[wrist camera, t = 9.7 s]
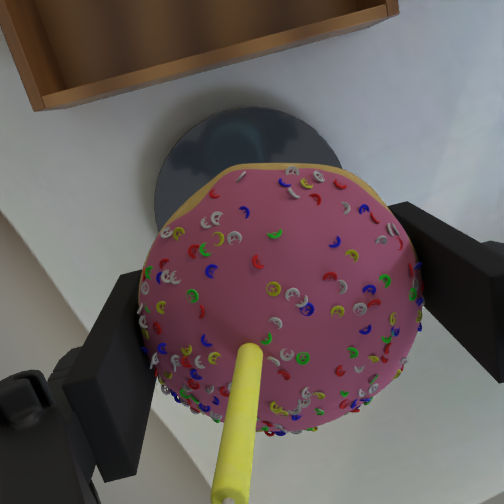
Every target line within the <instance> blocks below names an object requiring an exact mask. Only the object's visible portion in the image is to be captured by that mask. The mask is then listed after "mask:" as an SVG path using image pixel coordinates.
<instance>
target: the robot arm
mask: <svg viewBox="0 0 504 504" xmlns="http://www.w3.org/2000/svg"><path fill="white" fill-rule="evenodd" d="M387 207H388V208H389V210H390V211H391V212H392V214H393V215H394V216H395V218H396V219H397V220H398V221H399V223H400V224H401V226H402V227H403V229H404V230H405V232H406V234H407V235H408V237H409V239H410V240H411V242H412V244H413V246H414V248H415V250H416V253H417V256H418V259H419V262H422V266H421V275H422V280H423V282H424V291H422V295H423V297H424V299H425V305H423V306H424V307H425V308H426V309H427V310H428V311H429V312H430V313H431V314H432V315H433V316H434V317H435V318H436V319H437V320H438V321H439V322H440V323H441V324H442V325H443V326H444V327H445V328H446V329H447V330H448V331H449V332H450V333H451V335H452V336H453V337H454V338H455V339H456V340H457V341H458V342H459V343H460V344H461V345H462V346H463V347H464V348H465V349H466V350H467V351H468V352H469V353H470V354H471V355H472V356H473V357H474V358H475V359H476V360H477V361H478V362H479V363H480V364H481V365H482V366H483V367H484V369H485V370H486V371H487V372H488V373H489V374H490V375H491V376H492V377H493V378H494V379H495V380H496V381H497V382H498V383H499V384H500V383H504V243H499V242H494V241H487V242H483V243H480V242H478V241H476V240H475V239H473V238H471V237H469V236H468V235H466V234H464V233H462V232H461V231H459V230H457V229H455V228H453V227H452V226H450V225H448V224H446V223H445V222H443V221H441V220H439V219H438V218H436V217H434V216H432V215H431V214H429V213H427V212H425V211H424V210H422V209H420V208H418V207H417V206H415V205H413V204H411V203H409V202H408V201H406V202H402V203H398V204H395V205H391V206H387ZM141 273H142V269H141V270H137V271H134V272H130V273H126V274H122V275H120V277H119V278H118V280H117V282H116V284H115V286H114V288H113V290H112V292H111V294H110V295H109V297H108V299H107V301H106V303H105V305H104V307H103V309H102V310H101V312H100V314H99V316H98V318H97V320H96V322H95V324H94V325H93V327H92V329H91V331H90V333H89V335H88V337H87V339H86V341H85V342H84V344H83V346H81V347H77V348H73V349H71V350H70V351H69V352H68V353H67V354H66V355H65V356H63V357H62V358H61V359H60V360H59V362H58V363H57V365H56V367H55V368H54V370H53V373H51V375H50V377H49V379H48V382H46V380H45V377H44V375H43V374H42V373H41V371H39V370H28V371H22V372H20V373H17V374H14V375H11V376H9V377H7V378H5V379H3V380H1V381H0V504H101V502H100V499H99V496H98V493H97V491H96V489H95V486H94V484H93V482H92V480H91V478H92V475H93V472H94V469H95V465H97V467H98V469H99V472H100V474H101V476H102V478H103V480H104V483H106V482H110V481H114V480H118V479H122V478H126V477H130V476H134V475H136V473H137V468H138V464H139V459H140V454H141V449H142V444H143V440H144V435H145V430H146V425H147V421H148V416H149V411H150V407H151V402H152V397H153V393H154V388H155V383H156V378H157V376H156V377H155V376H154V369H153V367H152V369H150V364H151V363H150V361H149V358H148V355H146V354H145V353H143V352H142V349H141V347H145V345H144V341H143V337H142V332H141V327H140V324H139V319H140V315H139V314H137V311H138V308H139V284H140V278H141ZM144 351H145V350H144ZM145 352H146V351H145Z"/></svg>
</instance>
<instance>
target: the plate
mask: <svg viewBox="0 0 504 504" xmlns="http://www.w3.org/2000/svg"><path fill="white" fill-rule="evenodd" d="M250 163H305V164H320V165H328V166H333V167H337V168H340V169H342V167H341V165H340V162H339V160H338V158H337V156H336V155H335V153H334V151H333V149H332V148H331V147H330V145H329V144H328V143H327V142H326V140H325V139H324V138H323V137H322V136H321V135H320V134H319V133H318V132H317V131H316V130H315V129H313V128H312V127H310V126H309V125H308V124H306V123H305V122H303V121H301V120H300V119H298V118H296V117H294V116H292V115H289V114H286V113H284V112H281V111H277V110H273V109H268V108H259V107H245V108H236V109H231V110H227V111H224V112H221V113H218V114H215V115H213V116H211V117H209V118H207V119H205V120H203V121H201V122H200V123H198V124H197V125H195V126H194V127H192V128H191V129H190V130H189V131H188V132H187V133H186V134H185V135H183V136H182V137H181V139H180V140H179V141H178V142H177V143H176V145H175V146H174V147H173V148H172V150H171V151H170V153H169V155H168V156H167V158H166V159H165V162H164V164H163V166H162V168H161V171H160V174H159V177H158V180H157V184H156V191H155V206H154V209H155V218H156V223H157V227H158V231H159V232H160V231H161V229H162V228H163V226H164V225H165V224H166V222H167V221H168V220H169V219H170V218H171V216H172V215H173V214H174V213H175V212H176V211H177V210H178V209H179V208H180V207H181V206H182V205H183V204H184V203H185V202H186V201H187V200H188V199H189V198H190V197H191V196H192V195H193V194H195V193H196V192H197V191H198V190H200V189H201V188H202V187H203V186H205V185H206V184H207V183H209V182H210V181H211V180H212V179H213V178H215V177H216V176H217V175H218V174H220V173H221V172H222V171H224V170H226V169H227V168H229V167H231V166H235V165H239V164H250Z"/></svg>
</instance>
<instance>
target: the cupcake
mask: <svg viewBox="0 0 504 504" xmlns="http://www.w3.org/2000/svg"><path fill="white" fill-rule="evenodd" d="M421 266H422V262H419V259H418V256H417V253H416V250H415V248H414V246H413V244H412V242H411V240H410V239H409V237H408V235H407V234H406V232H405V230H404V229H403V227H402V226H401V224H400V223H399V221H398V220H397V219H396V218H395V216H394V215H393V214H392V212H391V211H390V210H389V208H388V207H387V206H386V204H385V203H384V202H383V201H382V199H381V198H380V197H379V195H378V194H377V193H376V192H375V191H374V190H373V189H372V188H371V187H370V186H369V185H368V184H367V183H365V182H364V181H363V180H362V179H360V178H359V177H357V176H356V175H354V174H352V173H350V172H348V171H346V170H343V169H340V168H337V167H333V166H328V165H320V164H305V163H250V164H239V165H235V166H231V167H229V168H227V169H226V170H224V171H222V172H221V173H220V174H218V175H217V176H216V177H215V178H213V179H212V180H211V181H210V182H209V183H207V184H206V185H205V186H203V187H202V188H201V189H200V190H198V191H197V192H196V193H195V194H193V195H192V196H191V197H190V198H189V199H188V200H187V201H186V202H185V203H184V204H183V205H182V206H181V207H180V208H179V209H178V210H177V211H176V212H175V213H174V214H173V215H172V216H171V218H170V219H169V220H168V221H167V222H166V224H165V225H164V226H163V228H162V229H161V231H160V232H159V234H158V235H157V237H156V239H155V241H154V243H153V245H152V247H151V249H150V251H149V253H148V255H147V258H146V261H145V263H144V266H143V270H142V273H141V278H140V284H139V308H138V311H137V314H139V315H140V319H139V324H140V327H141V332H142V337H143V341H144V345H145V347H141V349H142V352H143V353H145V354H146V355H148V358H149V361H150V363H151V364H150V369H152V367H153V369H154V376H155V377H156V376H158V380H159V382H160V384H162V386H161V389H162V392H163V393H164V394H165V395H168V394H169V393H170V392H171V395H172V396H174V399H175V401H176V402H178V403H182V404H183V405H184V406H186V407H189V406H190V410H191V412H192V413H193V414H199V413H200V412H201V413H202V414H203V415H204V414H205V415H207V416H209V417H211V418H212V419H213V420H214V421H215V422H216V423H219V422H220V421H221V422H223V423H224V427H223V432H222V437H221V443H220V448H219V453H218V458H217V464H216V469H215V474H214V479H213V485H212V490H211V503H212V504H248V500H249V491H250V481H251V471H252V461H253V451H254V441H255V431H256V432H263V431H264V432H265V434H266V435H268V436H273V435H274V434H276V435H278V436H283V435H285V434H286V433H288V432H287V431H291V433H293V434H300V433H301V432H302V430H308V431H317V429H318V428H317V426H319V425H322V424H325V423H327V422H330V421H332V420H335V419H337V418H339V417H341V416H343V415H346V414H348V413H349V412H359V411H360V410H359V409H357V408H359V407H360V406H361V404H363V403H364V405H368V404H369V403H370V402H371V400H372V399H373V396H374V395H376V394H377V393H378V392H380V391H381V390H382V389H383V388H385V387H386V386H387V385H388V384H389V383H390V382H391V381H392V380H393V379H395V378H397V377H398V376H399V375H400V374H401V371H403V367H404V364H405V363H406V362H407V361H408V359H407V358H406V357H407V355H408V353H409V351H410V349H411V346H412V344H413V342H414V339H415V337H416V334H417V331H421V330H422V325H421V322H420V321H421V319H422V305H425V299H424V297H423V295H422V291H424V282H423V280H422V275H421ZM419 327H420V328H419ZM144 350H145V351H146V352H145V351H144ZM164 386H167V387H166V388H164ZM167 388H168V391H167ZM164 389H166V391H165V390H164ZM177 396H179V400H178V398H177ZM367 401H368V402H367ZM184 402H185V403H184ZM186 403H187V404H186ZM194 410H195V411H196V412H195V411H194ZM313 428H314V429H313ZM269 431H270V432H272V433H271V434H270V433H268V432H269ZM296 431H297V432H296Z"/></svg>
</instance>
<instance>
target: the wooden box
mask: <svg viewBox="0 0 504 504" xmlns="http://www.w3.org/2000/svg"><path fill="white" fill-rule="evenodd" d="M399 13H400V12H399V5H398V0H0V26H1V29H2V31H3V34H4V36H5V39H6V41H7V44H8V47H9V49H10V52H11V54H12V57H13V59H14V62H15V65H16V67H17V70H18V72H19V75H20V77H21V80H22V82H23V85H24V88H25V90H26V93H27V95H28V98H29V100H30V103H31V106H32V108H33V111H34V112H39V111H48V110H58V109H66V108H70V107H74V106H78V105H81V104H85V103H89V102H93V101H96V100H100V99H104V98H107V97H111V96H115V95H119V94H122V93H126V92H130V91H134V90H137V89H141V88H145V87H149V86H152V85H156V84H160V83H163V82H167V81H171V80H175V79H178V78H182V77H186V76H190V75H193V74H197V73H201V72H204V71H208V70H212V69H216V68H219V67H223V66H227V65H231V64H234V63H238V62H242V61H245V60H249V59H253V58H257V57H260V56H264V55H268V54H272V53H275V52H279V51H283V50H287V49H290V48H294V47H298V46H301V45H305V44H309V43H313V42H316V41H320V40H324V39H328V38H331V37H335V36H339V35H342V34H346V33H350V32H354V31H357V30H361V29H365V28H369V27H371V26H373V25H375V24H378V23H380V22H382V21H384V20H387V19H389V18H391V17H394V16H396V15H398V14H399Z"/></svg>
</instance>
